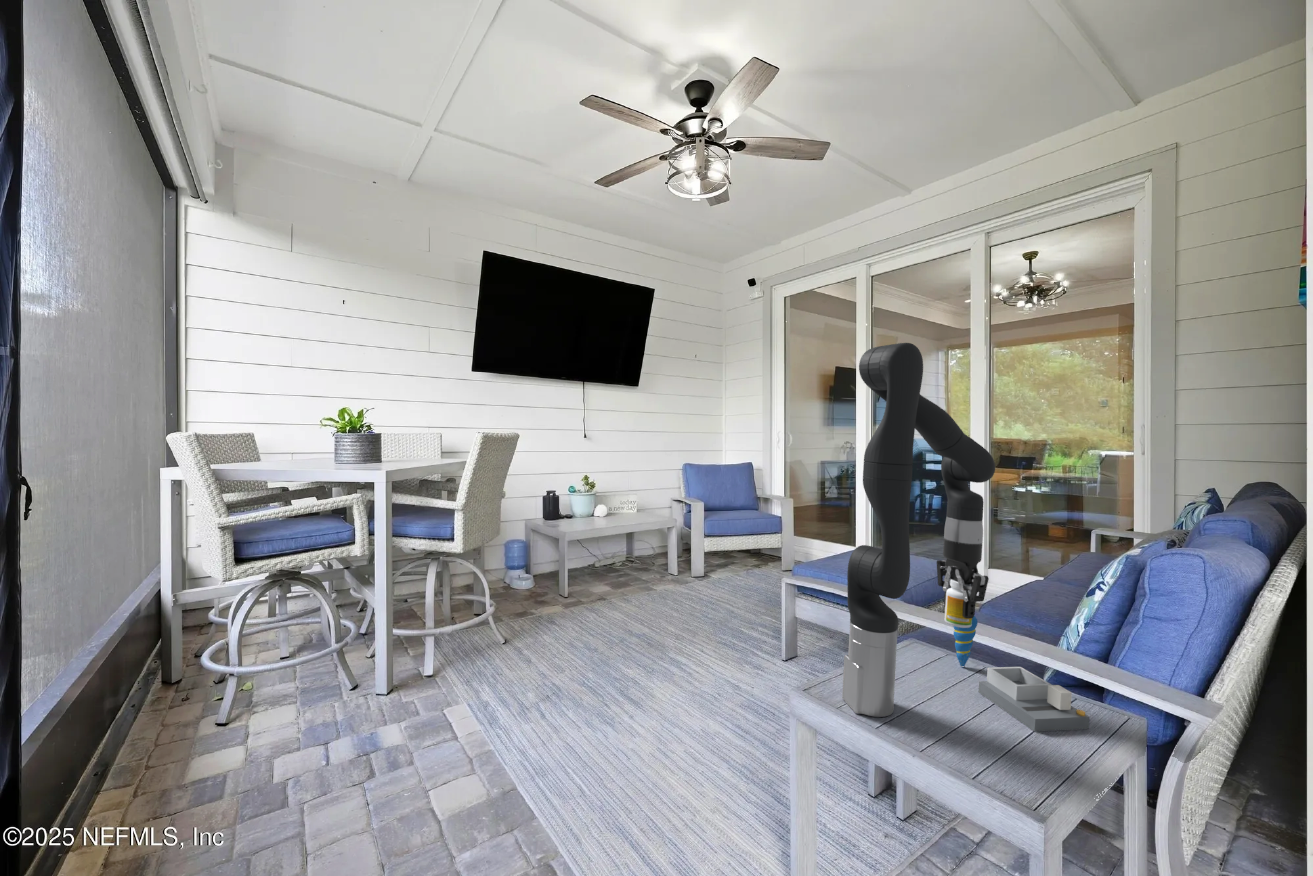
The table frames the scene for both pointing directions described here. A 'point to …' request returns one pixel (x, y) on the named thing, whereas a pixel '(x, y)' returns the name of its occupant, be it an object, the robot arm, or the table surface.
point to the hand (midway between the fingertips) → (958, 612)
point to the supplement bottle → (956, 606)
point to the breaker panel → (1029, 700)
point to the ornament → (964, 641)
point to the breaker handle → (1059, 697)
